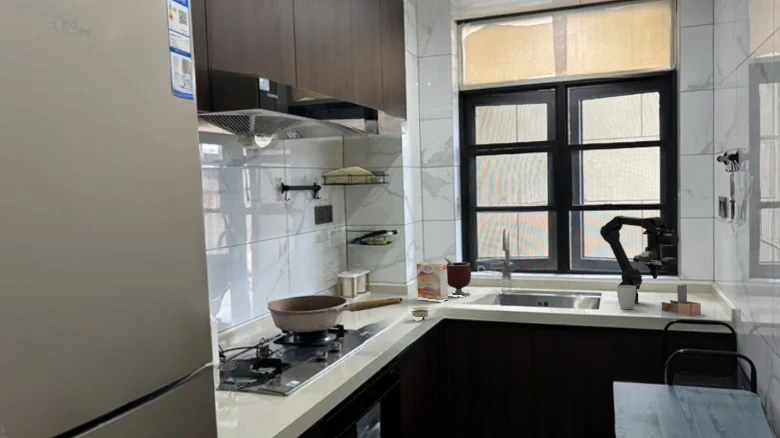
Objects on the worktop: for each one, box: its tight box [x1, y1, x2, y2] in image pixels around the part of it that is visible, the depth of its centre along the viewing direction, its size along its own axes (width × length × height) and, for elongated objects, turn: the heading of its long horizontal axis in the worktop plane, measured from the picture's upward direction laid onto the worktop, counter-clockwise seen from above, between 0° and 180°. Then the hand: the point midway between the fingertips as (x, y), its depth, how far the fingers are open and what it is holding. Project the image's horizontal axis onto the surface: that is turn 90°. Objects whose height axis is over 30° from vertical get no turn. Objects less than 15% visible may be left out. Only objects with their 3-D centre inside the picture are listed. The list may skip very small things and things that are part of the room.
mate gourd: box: [443, 257, 472, 297], centre depth 312 cm, size 16×14×20 cm
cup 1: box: [616, 285, 637, 311], centre depth 263 cm, size 8×8×10 cm
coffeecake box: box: [416, 261, 449, 300], centre depth 302 cm, size 15×7×20 cm, turn 49°
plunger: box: [676, 283, 688, 304], centre depth 251 cm, size 1×5×9 cm, turn 119°
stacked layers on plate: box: [410, 306, 430, 318], centre depth 261 cm, size 10×9×6 cm
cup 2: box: [677, 300, 702, 317], centre depth 249 cm, size 6×6×4 cm
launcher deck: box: [661, 299, 679, 314], centre depth 255 cm, size 8×6×4 cm
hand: (654, 278), depth 262 cm, fingers closed
